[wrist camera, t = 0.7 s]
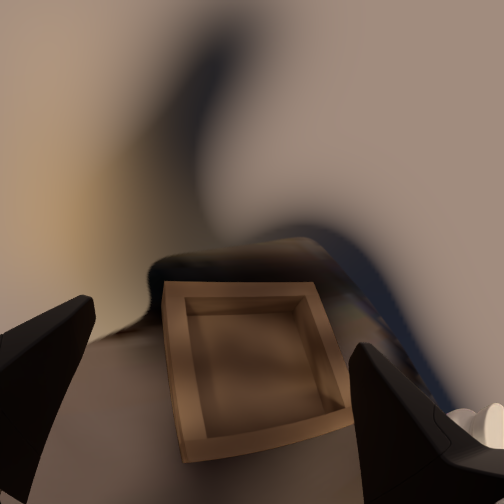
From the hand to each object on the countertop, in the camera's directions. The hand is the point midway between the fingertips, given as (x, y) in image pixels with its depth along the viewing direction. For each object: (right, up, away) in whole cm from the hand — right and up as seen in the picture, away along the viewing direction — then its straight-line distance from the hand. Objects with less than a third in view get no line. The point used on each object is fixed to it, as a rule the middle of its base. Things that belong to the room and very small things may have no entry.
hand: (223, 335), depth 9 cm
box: (+1, -8, +15) cm, 17 cm away
